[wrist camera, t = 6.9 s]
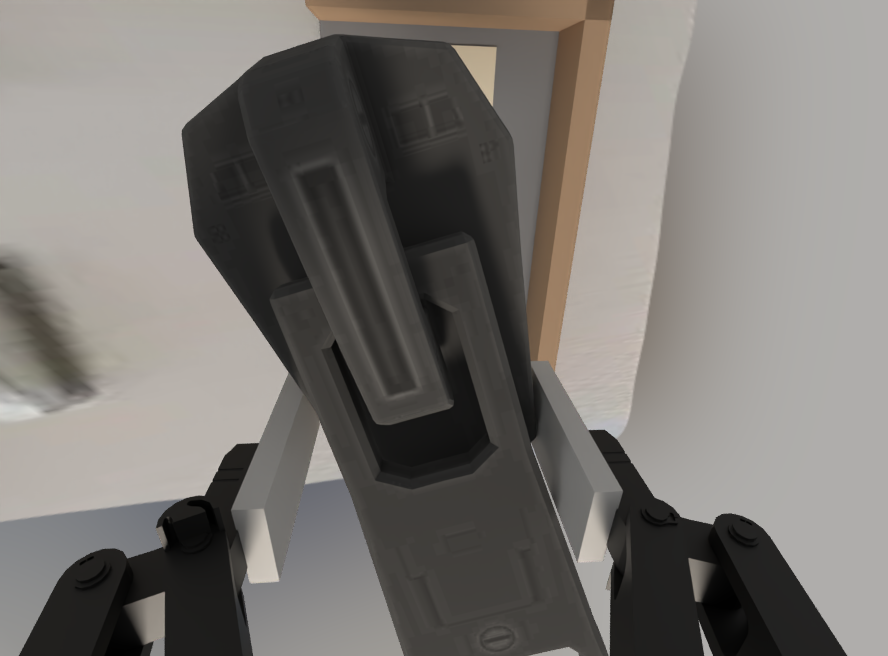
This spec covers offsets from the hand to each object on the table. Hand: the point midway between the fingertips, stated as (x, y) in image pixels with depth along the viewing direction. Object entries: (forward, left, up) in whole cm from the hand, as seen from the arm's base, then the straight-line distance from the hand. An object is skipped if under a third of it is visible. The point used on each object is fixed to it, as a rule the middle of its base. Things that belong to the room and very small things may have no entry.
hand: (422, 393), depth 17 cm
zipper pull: (+1, -1, 0) cm, 1 cm away
